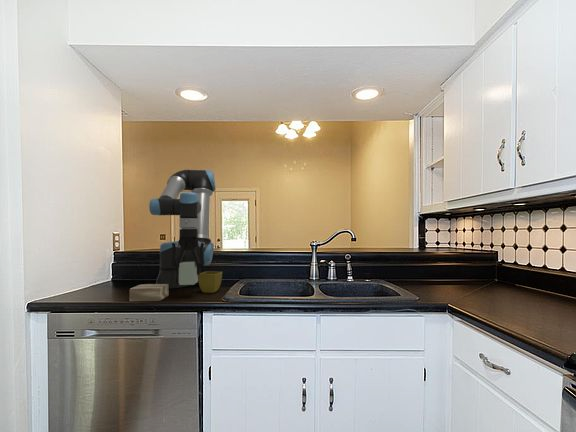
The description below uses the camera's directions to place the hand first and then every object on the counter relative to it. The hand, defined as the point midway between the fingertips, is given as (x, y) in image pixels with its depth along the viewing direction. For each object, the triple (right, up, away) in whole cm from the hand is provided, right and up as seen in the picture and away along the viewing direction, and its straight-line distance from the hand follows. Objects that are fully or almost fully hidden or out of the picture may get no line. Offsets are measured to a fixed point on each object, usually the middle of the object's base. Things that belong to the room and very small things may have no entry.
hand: (188, 282), depth 145 cm
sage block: (0, 0, 0) cm, 0 cm away
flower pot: (+6, -7, +13) cm, 16 cm away
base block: (-16, -6, -2) cm, 17 cm away
